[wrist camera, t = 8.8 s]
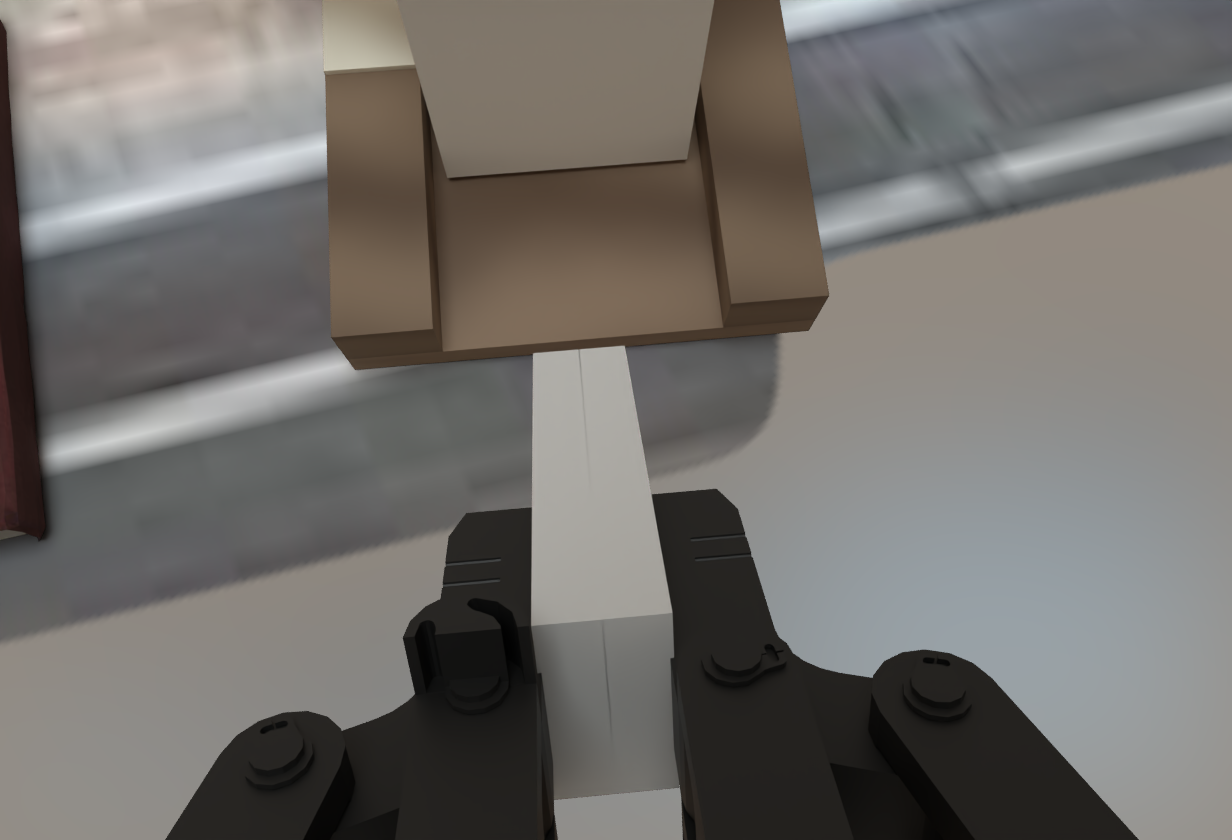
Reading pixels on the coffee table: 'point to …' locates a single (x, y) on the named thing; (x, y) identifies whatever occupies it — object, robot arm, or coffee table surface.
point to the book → (14, 354)
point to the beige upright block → (558, 80)
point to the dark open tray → (564, 215)
